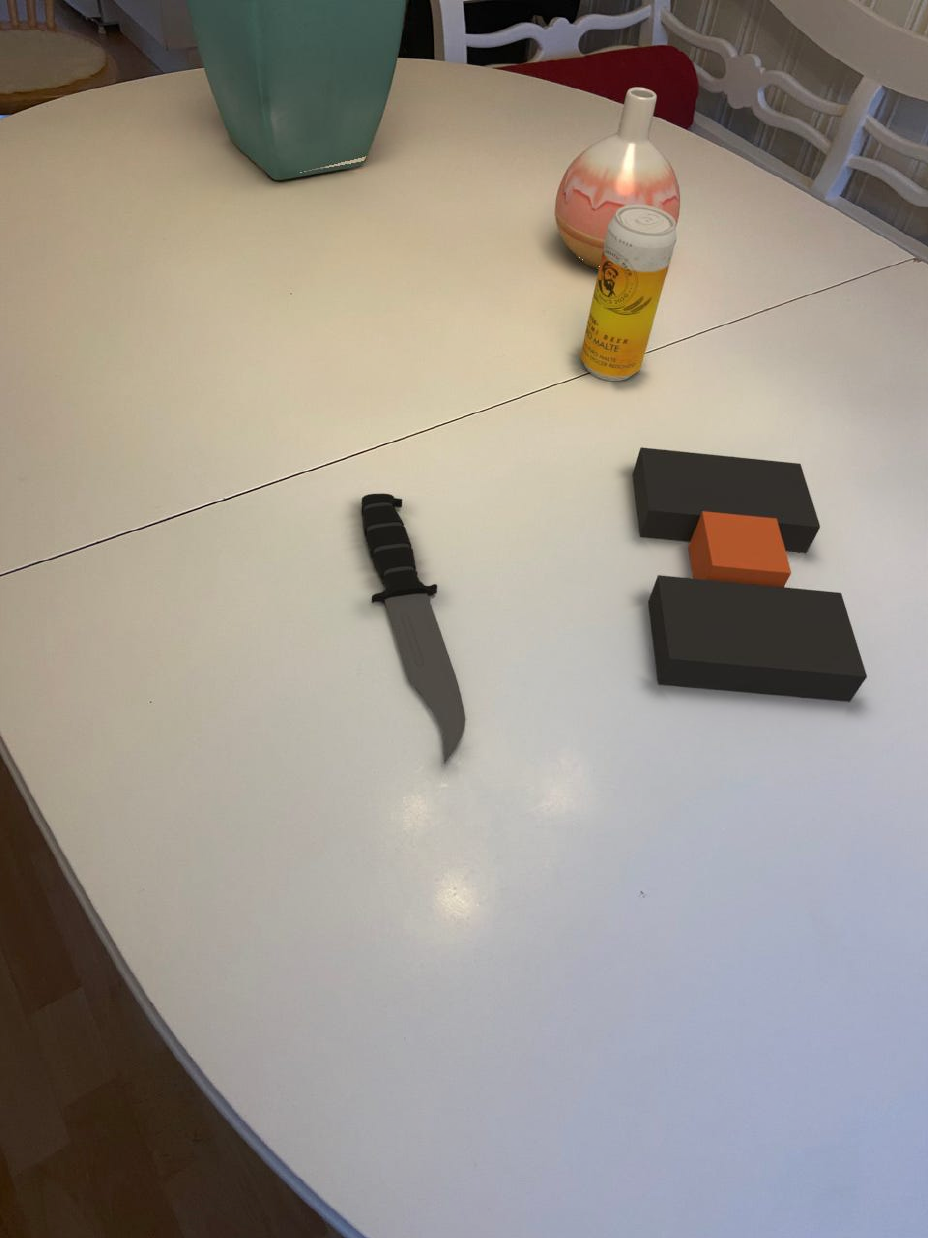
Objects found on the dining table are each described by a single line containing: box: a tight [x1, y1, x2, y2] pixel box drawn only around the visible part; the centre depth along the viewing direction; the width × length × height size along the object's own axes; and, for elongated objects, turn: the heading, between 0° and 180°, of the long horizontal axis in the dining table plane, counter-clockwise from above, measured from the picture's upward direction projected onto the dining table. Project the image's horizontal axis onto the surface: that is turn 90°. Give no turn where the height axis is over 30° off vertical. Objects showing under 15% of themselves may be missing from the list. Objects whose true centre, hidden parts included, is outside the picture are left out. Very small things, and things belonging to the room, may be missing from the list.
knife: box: [361, 493, 466, 765], centre depth 67 cm, size 25×2×5 cm
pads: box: [632, 446, 868, 703], centre depth 73 cm, size 14×23×3 cm, turn 178°
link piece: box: [688, 511, 792, 587], centre depth 72 cm, size 6×6×4 cm
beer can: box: [580, 205, 678, 382], centre depth 86 cm, size 6×6×15 cm
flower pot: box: [185, 0, 407, 181], centre depth 106 cm, size 20×20×28 cm
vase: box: [554, 87, 681, 271], centre depth 100 cm, size 14×14×18 cm
